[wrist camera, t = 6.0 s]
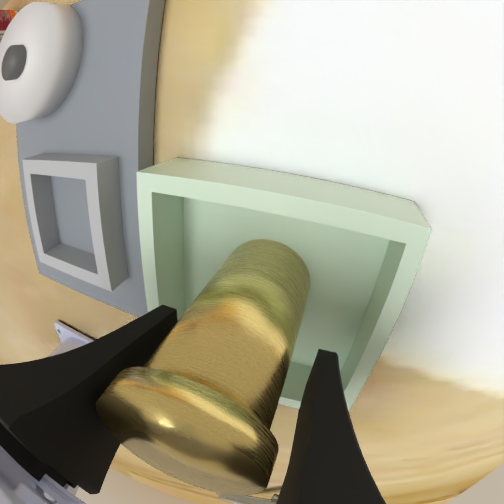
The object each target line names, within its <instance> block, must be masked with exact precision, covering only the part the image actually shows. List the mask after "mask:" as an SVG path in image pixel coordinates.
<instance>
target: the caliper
mask: <svg viewBox="0 0 504 504" xmlns="http://www.w3.org/2000/svg"><path fill="white" fill-rule="evenodd" d="M216 493H217V494H218V495H219V497H218V498H220V499H223V500H225V501H229V502H232V503H236V504H276V503H277V500H278V497H279V495H277V494H274V495H273V497H272V499H271V500H270V499H264V498H258V497H252V496H247V495H234V494H225V493H219V492H216Z"/></svg>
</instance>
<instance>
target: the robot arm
mask: <svg viewBox="0 0 504 504" xmlns="http://www.w3.org/2000/svg"><path fill="white" fill-rule="evenodd" d="M177 322H178V319H177V309H175V308H172V307H169V306H166V305H161V306H159V307H157V308H155V309H153V310H152V311H150V312H148V313H146V314H144V315H143V316H141V317H139V318H137V319H136V320H134V321H132V322H130V323H128V324H126V325H125V326H123V327H121V328H119V329H117V330H115V331H113V332H111V333H109V334H107V335H105V336H103V337H101V338H99V339H97V340H95V341H94V340H92V339H90V338H89V337H87V336H85V335H83V334H81V333H79V332H77V331H75V330H74V329H72V328H70V327H68V326H66V325H65V324H63V323H61V322H59V321H56V322H55V323H54V325H55V328H56V331H57V333H58V336H59V338H60V341H61V343H62V344H61V345H60V346H59V347H58V348H57V349H56V350H55V351H54V352H52V353H51V354H50V355H49V356H48V357H47V358H43V359H39V360H34V361H29V362H23V363H16V364H6V365H0V504H86V503H84V502H83V501H81V500H80V499H78V498H77V497H75V494H76V492H77V490H78V487H81V488H82V489H84V490H85V491H86V492H88V493H89V494H97V493H99V492H100V489H101V487H102V484H103V481H104V479H105V476H106V474H107V471H108V469H109V467H110V464H111V462H112V460H113V458H114V456H115V453H116V451H117V449H118V447H119V445H120V442H119V441H118V440H117V439H116V438H115V437H114V436H113V435H112V434H111V433H110V432H109V431H108V430H107V428H106V427H105V426H104V424H103V423H102V421H101V420H100V418H99V416H98V414H97V411H96V401H97V400H98V399H99V398H100V396H101V395H102V394H103V393H104V391H105V390H106V389H107V388H108V386H109V385H110V384H111V383H112V381H113V380H114V379H115V378H116V376H117V375H118V374H119V373H120V372H121V371H123V370H124V369H127V368H130V367H143V366H144V365H145V363H146V362H147V361H148V360H149V358H150V357H151V356H152V354H153V353H154V352H155V350H156V349H157V348H158V346H159V345H160V344H161V343H162V341H163V340H164V339H165V337H166V336H167V335H168V333H169V332H170V331H171V330H172V328H173V327H174V326H175V324H176V323H177ZM276 504H386V503H385V501H384V499H383V498H382V496H381V494H380V492H379V490H378V488H377V486H376V484H375V482H374V480H373V478H372V476H371V474H370V471H369V469H368V467H367V464H366V462H365V460H364V457H363V455H362V452H361V449H360V447H359V444H358V441H357V438H356V435H355V432H354V429H353V425H352V422H351V419H350V415H349V411H348V408H347V403H346V399H345V395H344V391H343V386H342V380H341V375H340V368H339V360H338V355H337V353H336V352H331V351H327V350H322V349H318V352H317V355H316V358H315V361H314V364H313V367H312V369H311V372H310V375H309V378H308V380H307V383H306V386H305V390H304V394H303V397H302V401H301V405H300V408H299V413H298V419H297V424H296V430H295V435H294V441H293V446H292V451H291V456H290V461H289V466H288V470H287V473H286V476H285V479H284V482H283V485H282V488H281V491H280V494H279V497H278V500H277V503H276Z"/></svg>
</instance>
